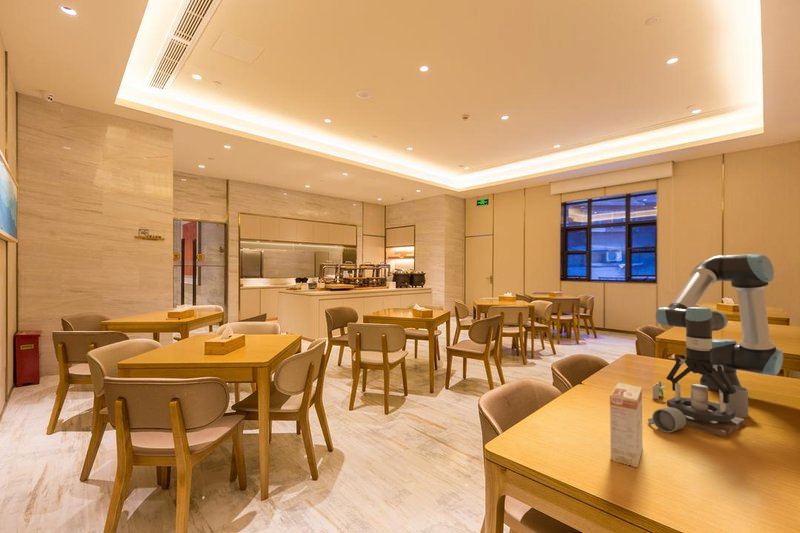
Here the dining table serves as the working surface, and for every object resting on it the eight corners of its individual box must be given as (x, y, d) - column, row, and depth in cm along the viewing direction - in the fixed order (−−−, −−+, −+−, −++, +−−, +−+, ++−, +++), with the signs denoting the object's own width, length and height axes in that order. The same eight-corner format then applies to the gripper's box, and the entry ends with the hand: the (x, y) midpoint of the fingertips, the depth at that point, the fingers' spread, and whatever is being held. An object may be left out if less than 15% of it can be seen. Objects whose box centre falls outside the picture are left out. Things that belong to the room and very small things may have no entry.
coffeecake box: (617, 441, 118) (617, 382, 118) (643, 448, 114) (643, 386, 114) (609, 460, 107) (608, 394, 107) (637, 468, 102) (637, 399, 102)
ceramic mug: (688, 431, 126) (687, 408, 126) (676, 436, 122) (676, 413, 122) (654, 420, 135) (654, 399, 136) (643, 425, 131) (642, 403, 132)
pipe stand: (679, 406, 148) (679, 375, 148) (744, 424, 131) (744, 388, 131) (656, 417, 138) (656, 383, 138) (724, 438, 121) (724, 399, 121)
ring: (681, 399, 147) (681, 394, 147) (740, 414, 132) (740, 408, 132) (660, 408, 137) (660, 403, 137) (721, 425, 122) (721, 419, 122)
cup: (753, 418, 137) (753, 391, 137) (728, 416, 139) (728, 390, 139) (737, 409, 145) (737, 384, 146) (714, 408, 147) (714, 383, 147)
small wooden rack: (668, 398, 160) (668, 380, 160) (663, 401, 155) (663, 383, 155) (658, 395, 163) (658, 378, 163) (652, 399, 159) (652, 380, 159)
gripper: (656, 343, 143) (656, 397, 143) (739, 356, 122) (740, 419, 122) (665, 341, 147) (665, 393, 147) (747, 353, 126) (747, 414, 126)
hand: (699, 405), depth 134 cm, fingers open, 13 cm apart
